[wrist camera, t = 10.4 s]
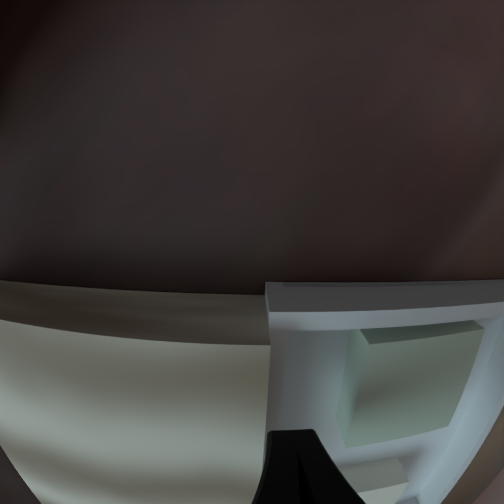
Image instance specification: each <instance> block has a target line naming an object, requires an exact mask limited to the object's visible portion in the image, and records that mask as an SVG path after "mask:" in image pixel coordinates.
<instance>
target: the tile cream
mask: <svg viewBox="0 0 504 504" xmlns="http://www.w3.org/2000/svg"><path fill="white" fill-rule="evenodd" d="M337 468H338V469H339V471H340V472H341V473H342V475H343V476H344V477H345V479H346V480H347V481H348V483H349V484H350V485H351V486H352V488H353V489H354V490H355V491H356V493H357V494H358V495H359V496H360V497H361V498H362V499H363V501H364V502H365V503H366V504H395V503H396V502H397V500H398V499H399V497H400V496H401V494H402V492H403V491H404V489H405V488H406V486H407V485H408V483H409V480H408V478H407V476H406V474H405V471H404V469H403V467H402V465H401V462H400V460H399V458H398V457H393V458H388V459H383V460H378V461H372V462H366V463H360V464H353V465H346V466H338V467H337Z"/></svg>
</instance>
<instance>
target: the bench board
mask: <svg viewBox="0 0 504 504" xmlns="http://www.w3.org/2000/svg"><path fill="white" fill-rule="evenodd" d="M270 350H271V343H270V335H269V326H268V318H267V310H266V301H265V295H235V294H199V293H173V292H151V291H131V290H114V289H98V288H83V287H70V286H57V285H45V284H34V283H23V282H12V281H3V280H0V445H1V447H2V448H3V450H4V452H5V453H6V455H7V456H8V458H9V459H10V461H11V462H12V464H13V465H14V467H15V468H16V470H17V471H18V473H19V474H20V476H21V477H22V478H23V480H24V481H25V482H26V484H27V485H28V487H29V488H30V489H31V491H32V492H33V493H34V494H35V496H36V497H37V498H38V500H39V501H40V502H41V503H42V504H251V503H252V501H253V498H254V496H255V493H256V491H257V488H258V485H259V481H260V478H261V474H262V466H263V453H264V440H265V427H266V413H267V398H268V383H269V367H270Z"/></svg>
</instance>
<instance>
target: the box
mask: <svg viewBox="0 0 504 504" xmlns="http://www.w3.org/2000/svg"><path fill="white" fill-rule="evenodd" d="M265 301H266V310H267V318H268V326H269V335H270V343H271V350H270V367H269V383H268V398H267V413H266V427H265V440H264V453H263V466H262V471H263V467H264V463H265V454H266V441H267V433H268V432H270V431H271V430H299V429H313V430H315V431H316V433H317V435H318V437H319V439H320V441H321V442H322V444H323V446H324V448H325V449H326V451H327V453H328V454H329V456H330V457H331V459H332V460H333V462H334V463H335V465H336V466H337V467H338V466H346V465H353V464H360V463H366V462H372V461H378V460H383V459H388V458H393V457H398V458H399V460H400V462H401V465H402V467H403V469H404V471H405V474H406V476H407V478H408V480H409V483H408V485H407V486H406V488H405V489H404V491H403V492H402V494H401V496H400V497H399V499H398V500H397V502H396V503H395V504H440V503H441V502H442V501H443V500H444V498H445V497H446V496H447V494H448V493H449V492H450V491H451V489H452V488H453V487H454V485H455V484H456V482H457V481H458V480H459V478H460V477H461V476H462V474H463V473H464V471H465V470H466V468H467V467H468V465H469V464H470V462H471V461H472V459H473V458H474V456H475V455H476V453H477V452H478V450H479V448H480V447H481V445H482V443H483V442H484V440H485V438H486V437H487V435H488V433H489V432H490V430H491V428H492V426H493V425H494V423H495V421H496V419H497V417H498V415H499V413H500V411H501V410H502V408H503V406H504V279H496V280H467V281H429V282H265ZM467 320H474V321H476V322H477V323H478V324H480V325H481V326H482V327H483V328H485V330H484V333H483V337H482V340H481V343H480V346H479V350H478V353H477V356H476V359H475V362H474V365H473V367H472V370H471V373H470V376H469V378H468V381H467V384H466V386H465V389H464V391H463V394H462V396H461V399H460V401H459V403H458V406H457V408H456V410H455V413H454V415H453V417H452V419H451V421H450V424H449V426H447V427H444V428H440V429H437V430H433V431H429V432H425V433H421V434H417V435H413V436H409V437H404V438H400V439H395V440H390V441H385V442H380V443H374V444H368V445H362V446H356V447H349V448H345V446H344V443H343V440H342V436H341V433H340V430H339V427H338V424H337V421H336V417H335V415H336V410H337V405H338V400H339V395H340V389H341V384H342V378H343V372H344V366H345V360H346V354H347V347H348V340H349V333H350V329H368V328H387V327H402V326H415V325H427V324H438V323H449V322H458V321H467Z"/></svg>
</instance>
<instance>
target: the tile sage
mask: <svg viewBox="0 0 504 504" xmlns="http://www.w3.org/2000/svg"><path fill="white" fill-rule="evenodd" d="M484 330H485V328H483V327H482V326H481V325H480V324H478V323H477V322H476V321H474V320H467V321H458V322H449V323H438V324H427V325H415V326H402V327H387V328H368V329H350V333H349V340H348V347H347V354H346V360H345V366H344V372H343V378H342V384H341V389H340V395H339V400H338V405H337V410H336V415H335V417H336V421H337V424H338V427H339V430H340V433H341V436H342V440H343V443H344V446H345V448H349V447H356V446H362V445H368V444H374V443H380V442H385V441H390V440H395V439H400V438H404V437H409V436H413V435H417V434H421V433H425V432H429V431H433V430H437V429H440V428H444V427H447V426H449V424H450V421H451V419H452V417H453V415H454V413H455V410H456V408H457V406H458V403H459V401H460V399H461V396H462V394H463V391H464V389H465V386H466V384H467V381H468V378H469V376H470V373H471V370H472V367H473V365H474V362H475V359H476V356H477V353H478V350H479V346H480V343H481V340H482V337H483V333H484Z"/></svg>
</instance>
